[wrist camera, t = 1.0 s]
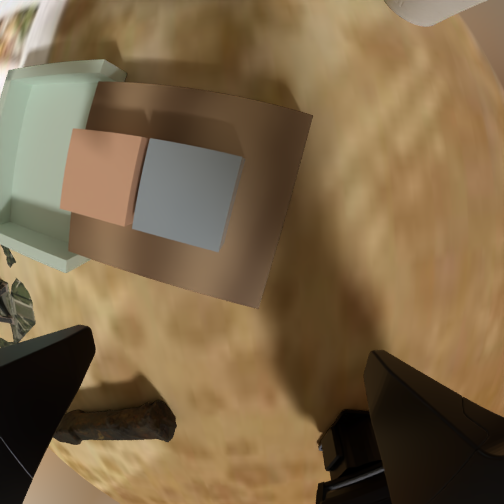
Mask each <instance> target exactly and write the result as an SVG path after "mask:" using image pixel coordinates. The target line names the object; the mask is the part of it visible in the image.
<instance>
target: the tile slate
mask: <svg viewBox="0 0 504 504" xmlns="http://www.w3.org/2000/svg"><path fill="white" fill-rule="evenodd" d="M244 163H245V158H243V157H241V156H236V155H232V154H228V153H224V152H219V151H215V150H210V149H205V148H201V147H196V146H191V145H186V144H180V143H175V142H170V141H164V140H158V139H152V138H150V140H149V144H148V149H147V153H146V157H145V162H144V166H143V171H142V175H141V180H140V185H139V191H138V196H137V201H136V207H135V213H134V219H133V225H132V229H135V230H138V231H142V232H145V233H149V234H153V235H156V236H160V237H164V238H167V239H171V240H175V241H178V242H182V243H186V244H189V245H193V246H197V247H200V248H204V249H208V250H212V251H215V252H219V251H220V249H221V248H222V246H223V244H224V242H225V238H226V234H227V230H228V226H229V221H230V217H231V213H232V209H233V205H234V202H235V198H236V194H237V190H238V186H239V182H240V178H241V174H242V170H243V167H244Z"/></svg>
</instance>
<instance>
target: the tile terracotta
mask: <svg viewBox="0 0 504 504" xmlns="http://www.w3.org/2000/svg"><path fill="white" fill-rule="evenodd" d="M149 140H150V139H148V138H145V137H140V136H133V135H126V134H119V133H112V132H104V131H95V130H86V129H76V128H73V130H72V135H71V139H70V144H69V149H68V154H67V160H66V166H65V172H64V178H63V185H62V193H61V201H60V209H63V210H67V211H70V212H74V213H77V214H81V215H84V216H88V217H91V218H95V219H99V220H102V221H106V222H109V223H113V224H117V225H120V226H124V227H125V226H127V225H130V224H132V223H133V219H134V213H135V207H136V201H137V196H138V191H139V185H140V180H141V175H142V171H143V166H144V162H145V157H146V153H147V149H148V144H149Z"/></svg>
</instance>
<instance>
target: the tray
mask: <svg viewBox="0 0 504 504" xmlns="http://www.w3.org/2000/svg"><path fill="white" fill-rule="evenodd" d="M126 75H127V73H126V72H124V71H123V70H121V69H120V68H118V67H116V66H115V65H113V64H112V63H110V62H108V61H107V60H105V59H99V60H80V61H68V62H58V63H50V64H42V65H35V66H29V67H24V68H18V69H13V70H9V71H8V74H7V77H6V81H5V84H4V87H3V91H2V94H1V98H0V244H1V245H3V246H5V247H7V248H9V249H11V250H14V251H16V252H18V253H20V254H22V255H24V256H27V257H29V258H31V259H33V260H36V261H38V262H40V263H43V264H45V265H47V266H50V267H52V268H55V269H57V270H59V271H62V272H64V273H68V272H69V271H71V270H73V269H75V268H77V267H78V266H80V265H82V264H84V263H86V262H87V261H89V260H91V259H89V258H86V257H83V256H81V255H78V254H75V253H72V252H69V251H68V245H69V230H70V219H71V212H70V211H67V210H63V209H60V201H61V193H62V185H63V178H64V172H65V166H66V160H67V154H68V149H69V144H70V139H71V135H72V130H73V128H76V129H85V128H86V124H87V120H88V116H89V112H90V108H91V105H92V101H93V98H94V94H95V91H96V88H97V85H98V82H99V81H107V82H124V81H125V78H126Z"/></svg>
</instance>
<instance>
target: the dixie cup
mask: <svg viewBox="0 0 504 504" xmlns="http://www.w3.org/2000/svg"><path fill="white" fill-rule="evenodd" d="M384 1H385V2H386V4H387V5H388V6H389V7H390V8H391V9H392V10H393V11H394V12H395V13H396V14H397V15H399V16H400V17H402V18H403V19H405V20H407V21H408V22H410V23H413V24H415V25H419V26H426V27H427V26H433V25H435V24H437V23H439V22H441V21H443V20H445V19H447V18H449V17H451V16H453V15H455V14H457V13H459V12H462V11H464V10H466V9H468V8H470V7H473V6H475V5H477V4H480V3H482V2H485V1H487V0H384Z"/></svg>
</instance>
